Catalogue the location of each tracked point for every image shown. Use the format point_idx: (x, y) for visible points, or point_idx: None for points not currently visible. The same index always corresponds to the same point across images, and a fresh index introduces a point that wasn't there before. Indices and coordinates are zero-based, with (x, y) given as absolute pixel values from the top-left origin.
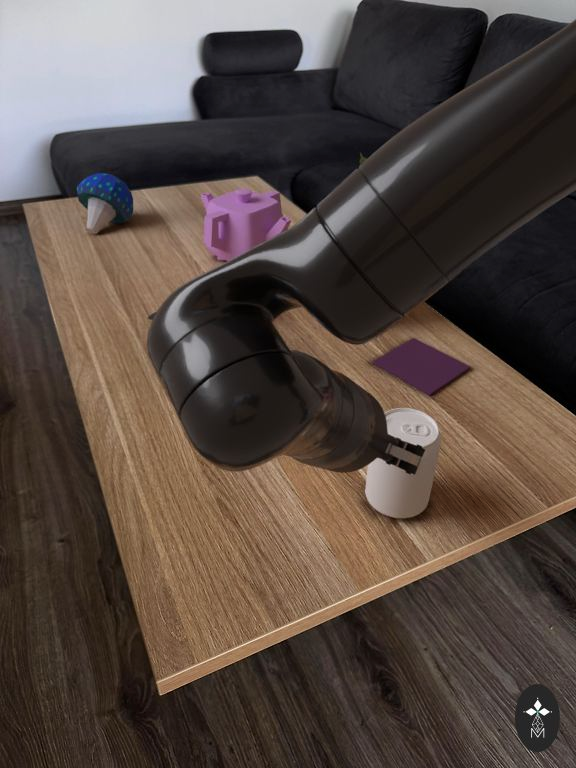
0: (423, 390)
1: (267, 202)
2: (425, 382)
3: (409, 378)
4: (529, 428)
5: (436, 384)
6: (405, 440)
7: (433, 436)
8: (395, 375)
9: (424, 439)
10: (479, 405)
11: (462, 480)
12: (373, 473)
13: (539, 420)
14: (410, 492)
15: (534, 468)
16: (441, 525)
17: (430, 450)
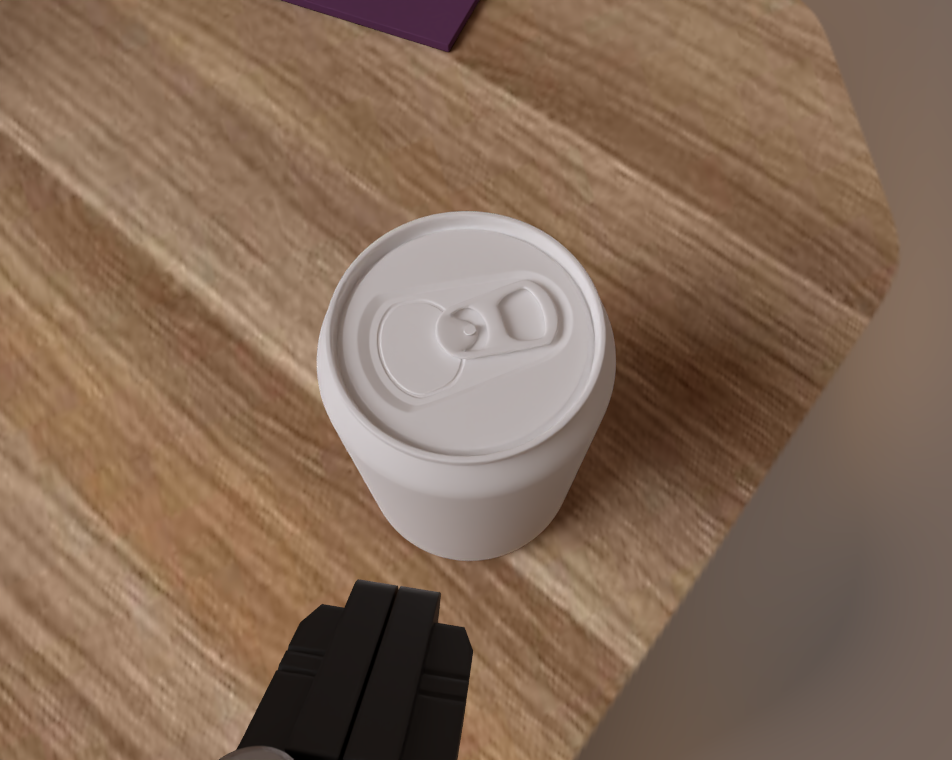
0: (425, 40)
1: None
2: (421, 11)
3: (373, 11)
4: (735, 71)
5: (454, 8)
6: (478, 408)
7: (585, 332)
8: (331, 13)
9: (555, 366)
10: (587, 40)
11: (630, 319)
12: (383, 502)
13: (749, 37)
14: (535, 519)
15: (794, 200)
16: (630, 512)
17: (594, 408)
